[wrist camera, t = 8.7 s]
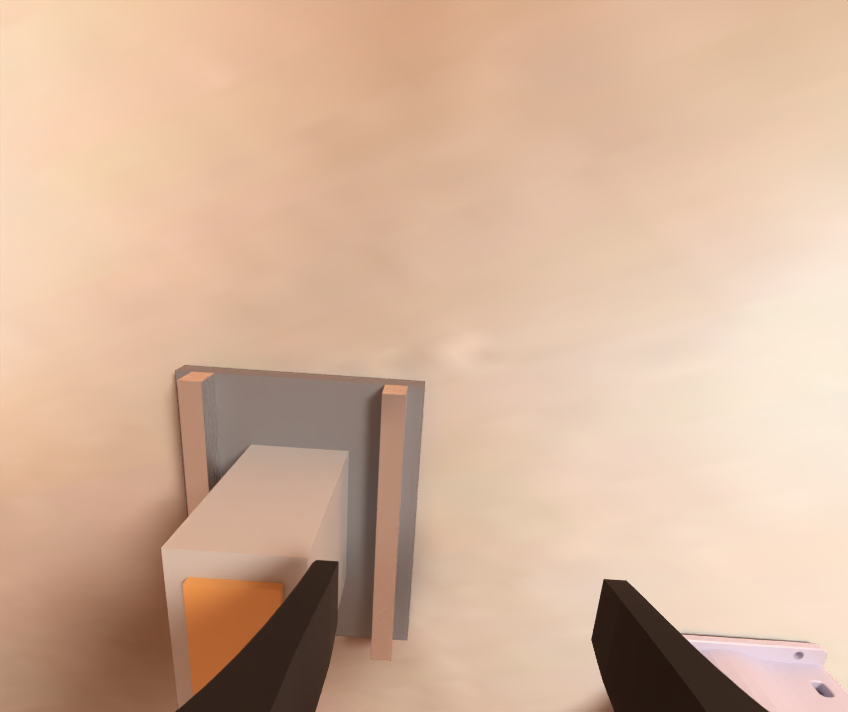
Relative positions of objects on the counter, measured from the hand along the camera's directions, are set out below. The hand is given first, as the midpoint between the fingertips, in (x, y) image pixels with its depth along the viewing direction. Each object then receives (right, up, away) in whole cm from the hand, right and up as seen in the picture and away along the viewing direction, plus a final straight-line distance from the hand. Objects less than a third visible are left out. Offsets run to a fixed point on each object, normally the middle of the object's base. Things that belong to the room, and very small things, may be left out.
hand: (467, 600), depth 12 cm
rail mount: (-7, -1, +10) cm, 12 cm away
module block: (-7, -1, +9) cm, 12 cm away
